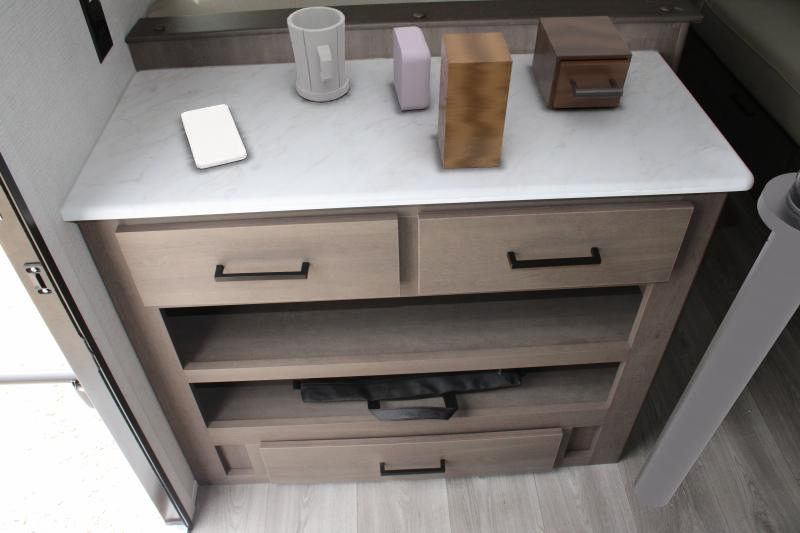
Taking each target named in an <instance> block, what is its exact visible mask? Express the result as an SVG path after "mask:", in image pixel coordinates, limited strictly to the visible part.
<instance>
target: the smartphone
mask: <svg viewBox="0 0 800 533" xmlns="http://www.w3.org/2000/svg"><path fill="white" fill-rule="evenodd" d="M180 117H181V121H182V124H183V128H184V131H185V132H184V133H185V135H186V137H187V141H188V143H189V146H190V149H191V153H192V156H193V159H194V163H195V166H196V168H198V169H207V168H212V167H216V166H220V165H224V164H228V163H234V162H238V161H241V160H244V159H246V158H247V156H248V155H247V150H246V148H245V145H244V143H243V140H242V138H241V136H240V133H239V131H238V128H237V125H236V123H235V120H234V117H233V116H232V114H231V111H230V108H229V106H228V104H224V103H223V104H222V103H221V104H216V105H212V106H206V107H201V108H196V109H192V110H187V111H184V112H182V113H181V114H180Z"/></svg>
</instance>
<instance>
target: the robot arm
mask: <svg viewBox="0 0 800 533" xmlns="http://www.w3.org/2000/svg"><path fill="white" fill-rule="evenodd" d="M645 1H646V2H647V3H654V2H655V3H658V2H661V1H662V0H645ZM796 173H797V175H796V177H795V178H796V180H795V181H794V183H793V185H792V187H791V188H790V190H789V191H788V193H787V202H788V204H789V205H790V207H791V208H792V209H793V210H794V211H795V212H796V213H797V214H798V215H800V168H799V169H798V171H797V172H796Z"/></svg>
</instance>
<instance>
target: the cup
mask: <svg viewBox="0 0 800 533" xmlns="http://www.w3.org/2000/svg"><path fill="white" fill-rule="evenodd" d="M345 18H346V17H345V14H344V13H343V12H342V11H341V10H339V9H336V8H334V7H329V6H309V7H308V6H307V7H303V8H301V9H297V10H295V11H293V12H292V13H290V14H289V16H288V17H287V18H286V24H287V28H288V32H289V38H290V41H291V46H292V52H293V57H294V63H295V70H296V77H297V78H296V80H295V89H296V92H297V94H298V95H299V96H301V97H302V98H303V99H306V100H307V101H312V102H317V103H318V102H319V103H323V102H331V101H335V100H337V99H339V98H342V97H343V96H344V95H346V93H348V91H349V89H350V78H349V76H348V75H347V73H346V72H347V71H346V45H345V44H346V43H345V42H346V40H345V39H346V37H345V36H346V26H345V25H346V19H345Z"/></svg>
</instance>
